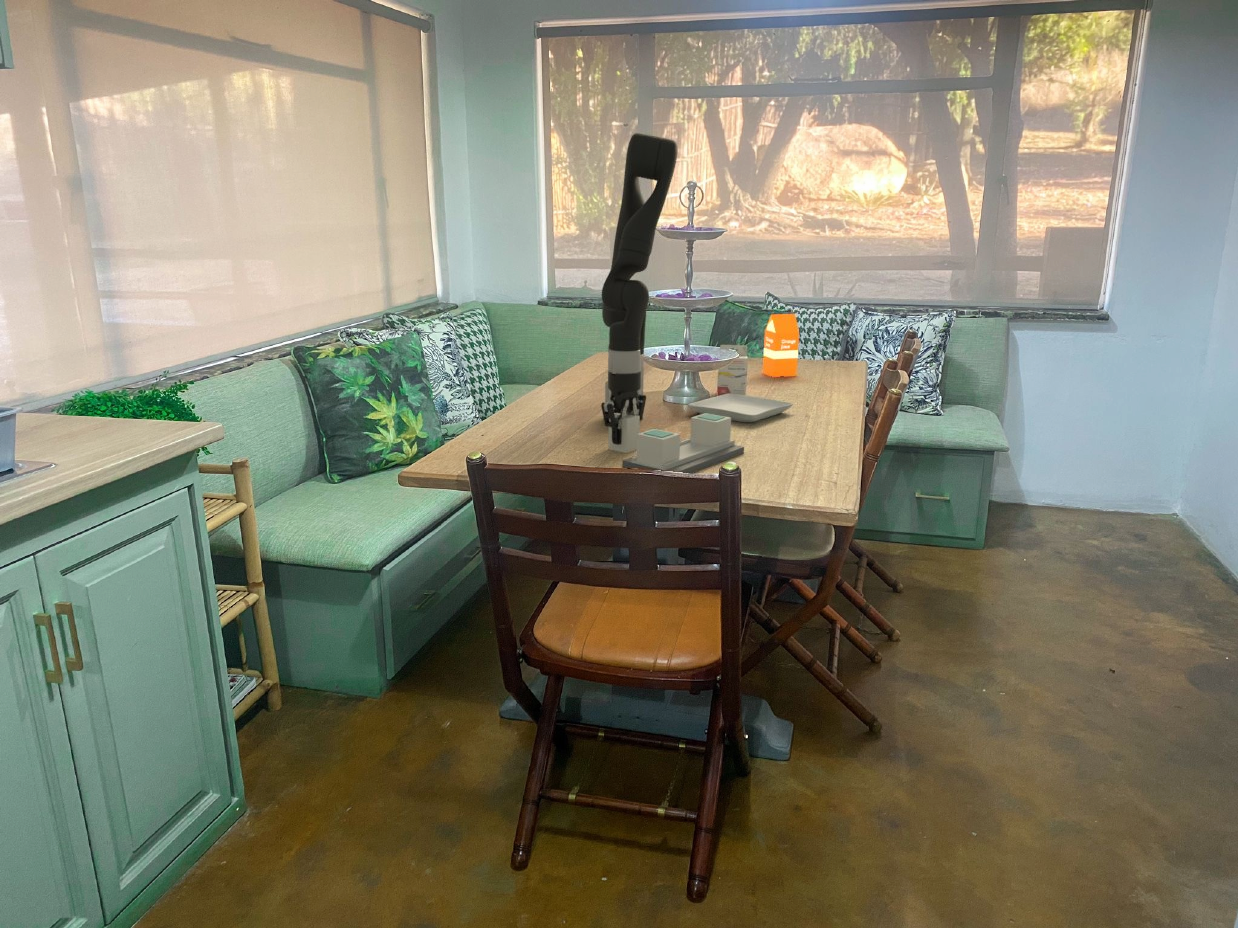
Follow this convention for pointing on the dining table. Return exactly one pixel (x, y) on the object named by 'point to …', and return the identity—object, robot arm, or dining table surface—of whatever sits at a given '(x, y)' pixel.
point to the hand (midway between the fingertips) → (623, 441)
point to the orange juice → (781, 346)
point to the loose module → (626, 434)
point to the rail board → (686, 446)
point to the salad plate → (740, 407)
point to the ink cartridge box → (733, 373)
